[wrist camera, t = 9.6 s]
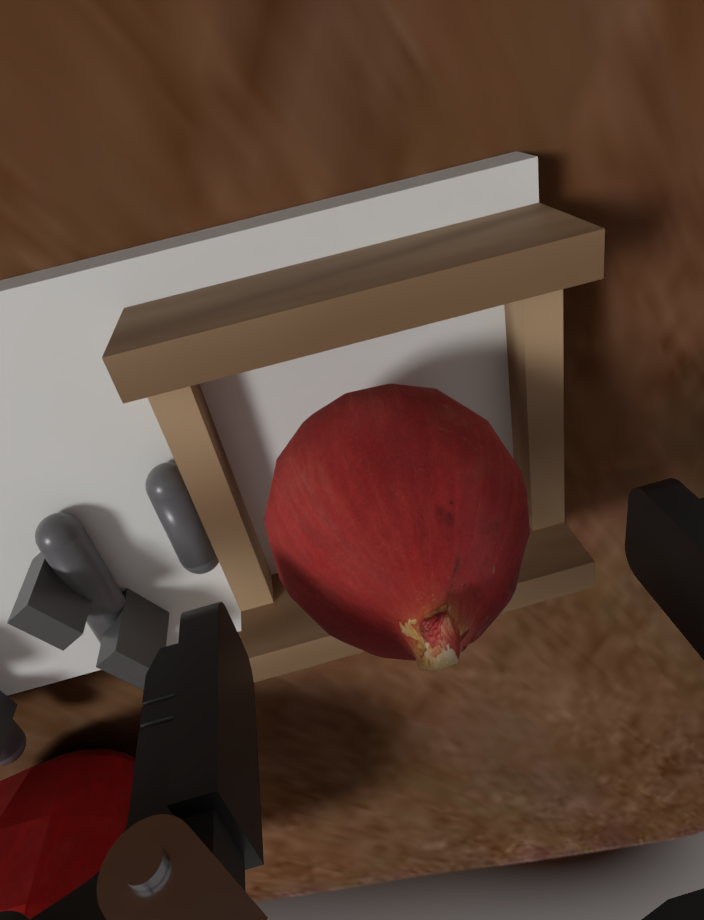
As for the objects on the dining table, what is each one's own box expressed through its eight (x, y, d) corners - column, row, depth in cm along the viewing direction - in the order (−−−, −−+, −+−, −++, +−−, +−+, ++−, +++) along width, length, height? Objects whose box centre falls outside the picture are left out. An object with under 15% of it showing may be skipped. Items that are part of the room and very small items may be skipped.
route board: (-489, 403, 14) (-685, 491, 11) (516, 150, 15) (590, 169, 12) (-110, 747, 22) (-164, 854, 19) (535, 567, 23) (582, 642, 20)
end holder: (123, 307, 14) (101, 357, 12) (538, 202, 14) (604, 228, 12) (249, 605, 20) (252, 683, 17) (547, 522, 20) (594, 587, 17)
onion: (508, 402, 17) (685, 609, 10) (387, 546, 19) (470, 796, 12) (339, 292, 15) (426, 468, 8) (221, 469, 17) (211, 728, 10)
